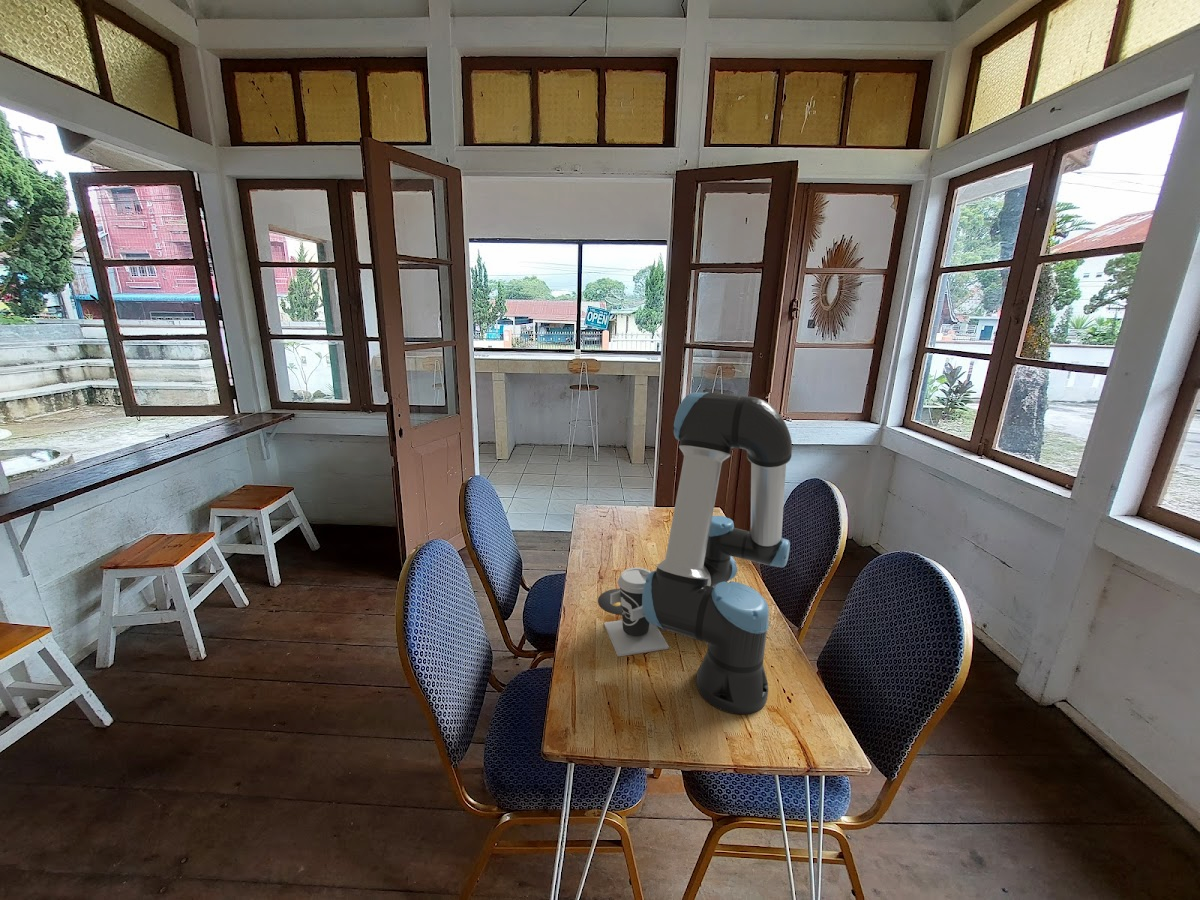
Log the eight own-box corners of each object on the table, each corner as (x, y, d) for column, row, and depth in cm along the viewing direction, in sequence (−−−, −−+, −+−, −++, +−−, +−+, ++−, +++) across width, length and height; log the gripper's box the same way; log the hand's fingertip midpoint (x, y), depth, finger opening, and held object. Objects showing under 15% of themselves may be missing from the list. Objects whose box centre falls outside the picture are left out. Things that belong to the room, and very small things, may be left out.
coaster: (650, 611, 137) (650, 611, 137) (604, 617, 134) (604, 617, 134) (635, 586, 149) (635, 586, 149) (593, 591, 146) (593, 591, 146)
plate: (668, 648, 122) (668, 646, 121) (617, 656, 118) (617, 654, 118) (650, 618, 134) (650, 616, 134) (603, 624, 131) (604, 622, 130)
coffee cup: (652, 643, 120) (654, 587, 116) (613, 637, 122) (614, 583, 118) (656, 620, 129) (658, 568, 125) (620, 615, 131) (621, 564, 127)
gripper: (716, 611, 126) (647, 643, 114) (663, 576, 142) (597, 600, 130) (719, 585, 124) (648, 614, 112) (664, 553, 140) (597, 575, 128)
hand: (621, 607), depth 121 cm, fingers closed on coffee cup, 8 cm apart
